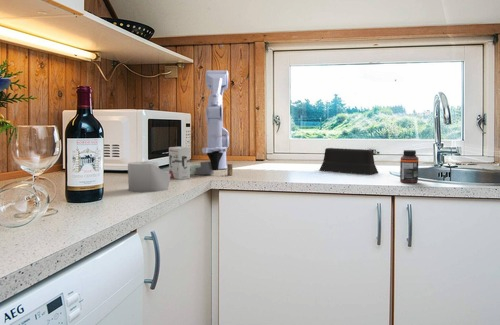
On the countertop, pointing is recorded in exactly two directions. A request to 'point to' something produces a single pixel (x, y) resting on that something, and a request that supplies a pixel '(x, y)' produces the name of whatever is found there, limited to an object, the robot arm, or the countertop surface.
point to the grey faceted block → (204, 168)
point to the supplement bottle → (409, 167)
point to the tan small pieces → (229, 169)
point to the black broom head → (349, 161)
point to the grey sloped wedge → (147, 177)
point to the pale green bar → (194, 168)
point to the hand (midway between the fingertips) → (215, 170)
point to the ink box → (179, 162)
